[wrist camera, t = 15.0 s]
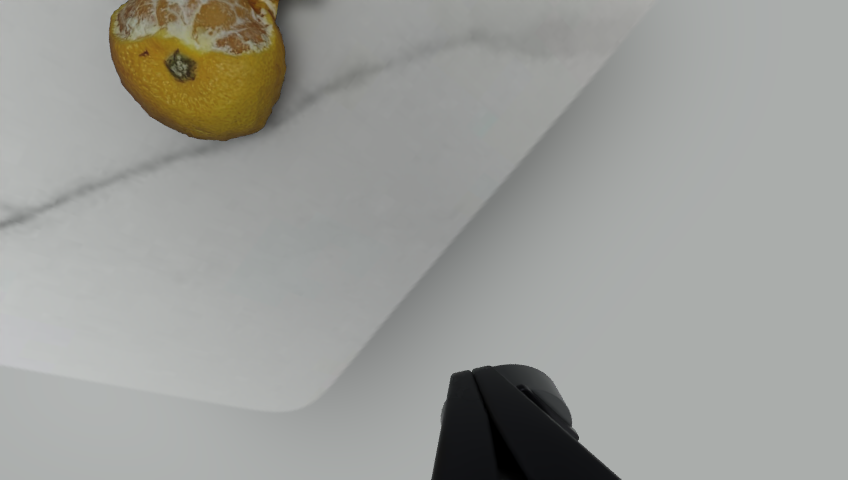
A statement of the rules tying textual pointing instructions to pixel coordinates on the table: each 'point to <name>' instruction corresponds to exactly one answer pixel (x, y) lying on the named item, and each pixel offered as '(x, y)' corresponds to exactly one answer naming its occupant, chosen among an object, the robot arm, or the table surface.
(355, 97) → the table surface
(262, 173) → the table surface
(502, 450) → the robot arm
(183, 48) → the fruit
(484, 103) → the table surface
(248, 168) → the table surface
